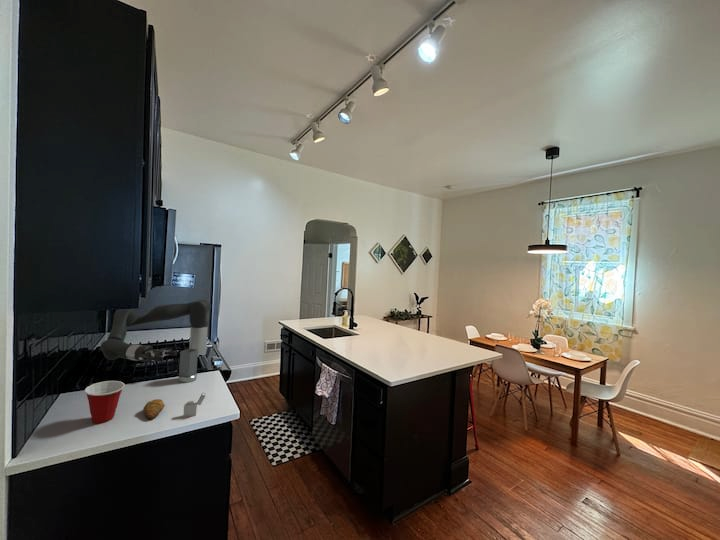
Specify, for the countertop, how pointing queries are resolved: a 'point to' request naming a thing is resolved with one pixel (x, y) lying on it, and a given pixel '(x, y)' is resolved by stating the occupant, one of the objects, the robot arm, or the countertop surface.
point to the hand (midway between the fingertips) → (169, 356)
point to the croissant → (153, 408)
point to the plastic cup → (103, 400)
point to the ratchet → (187, 379)
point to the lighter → (192, 406)
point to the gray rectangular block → (188, 362)
